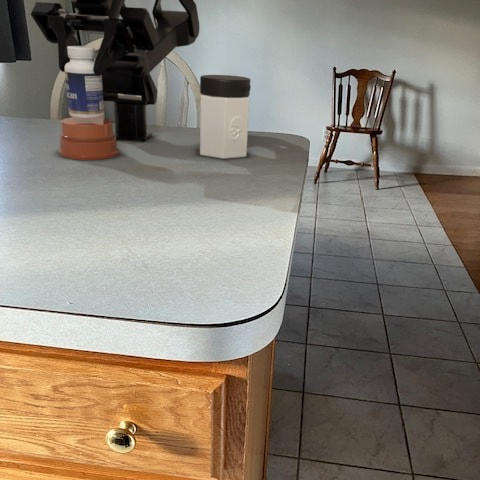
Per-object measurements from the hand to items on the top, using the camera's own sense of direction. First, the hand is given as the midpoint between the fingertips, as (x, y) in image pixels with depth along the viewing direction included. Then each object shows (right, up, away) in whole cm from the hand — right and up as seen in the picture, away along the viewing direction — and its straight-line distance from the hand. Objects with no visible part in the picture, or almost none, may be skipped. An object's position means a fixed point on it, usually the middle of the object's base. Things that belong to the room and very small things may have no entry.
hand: (78, 71), depth 81 cm
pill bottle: (0, -5, +4) cm, 7 cm away
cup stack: (0, -10, +7) cm, 12 cm away
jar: (+21, -9, +12) cm, 26 cm away
